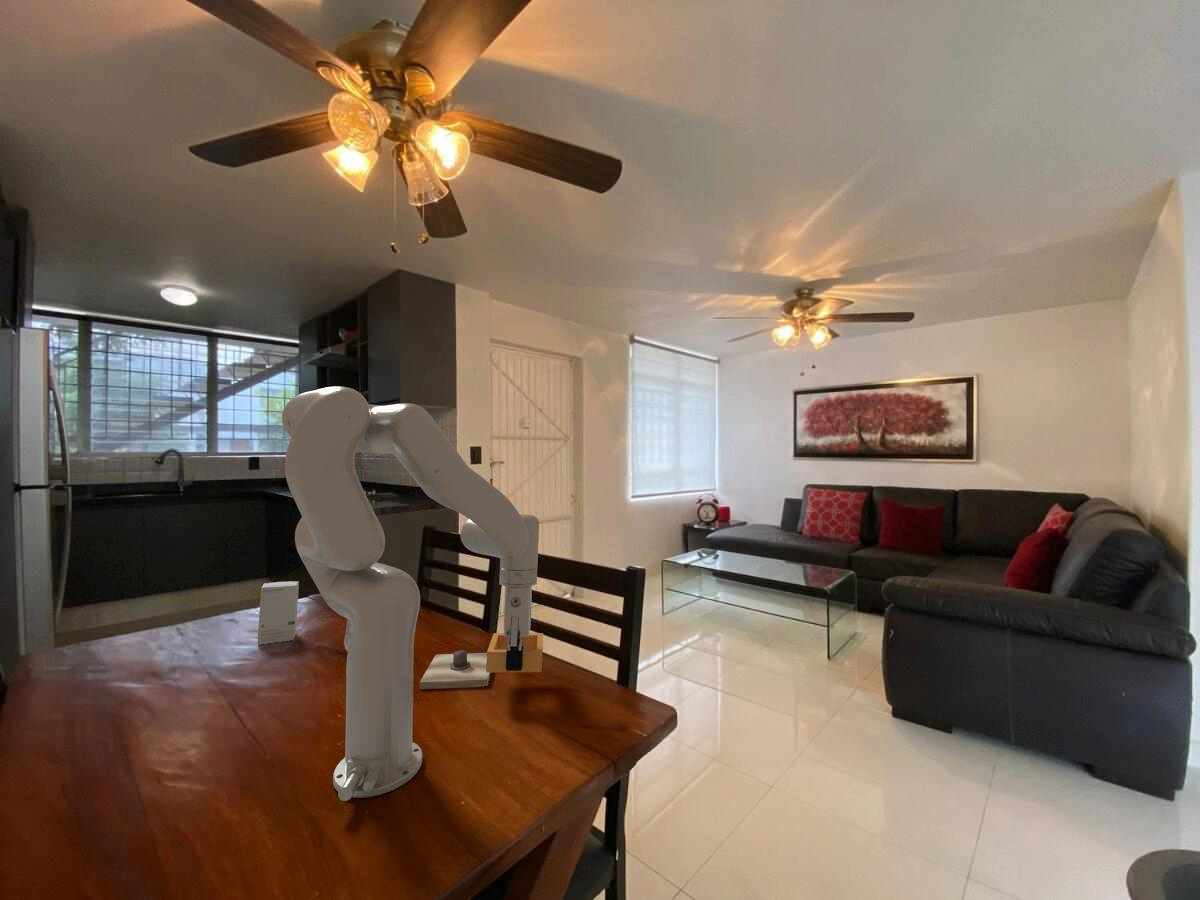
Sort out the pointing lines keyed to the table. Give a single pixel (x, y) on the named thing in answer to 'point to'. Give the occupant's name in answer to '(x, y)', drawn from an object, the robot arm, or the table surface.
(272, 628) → the skincare box
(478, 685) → the board
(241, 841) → the table surface
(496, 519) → the robot arm
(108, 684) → the table surface
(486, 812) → the table surface
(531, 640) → the tan square frame
